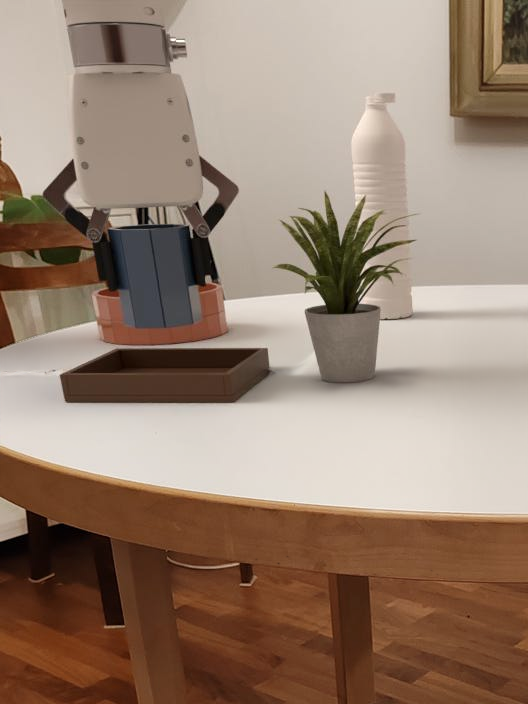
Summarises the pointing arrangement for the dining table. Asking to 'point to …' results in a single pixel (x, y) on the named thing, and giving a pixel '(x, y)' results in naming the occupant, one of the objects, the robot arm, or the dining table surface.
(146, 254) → the cup
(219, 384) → the tray
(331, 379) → the house plant
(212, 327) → the bowl
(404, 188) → the water bottle
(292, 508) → the dining table surface
